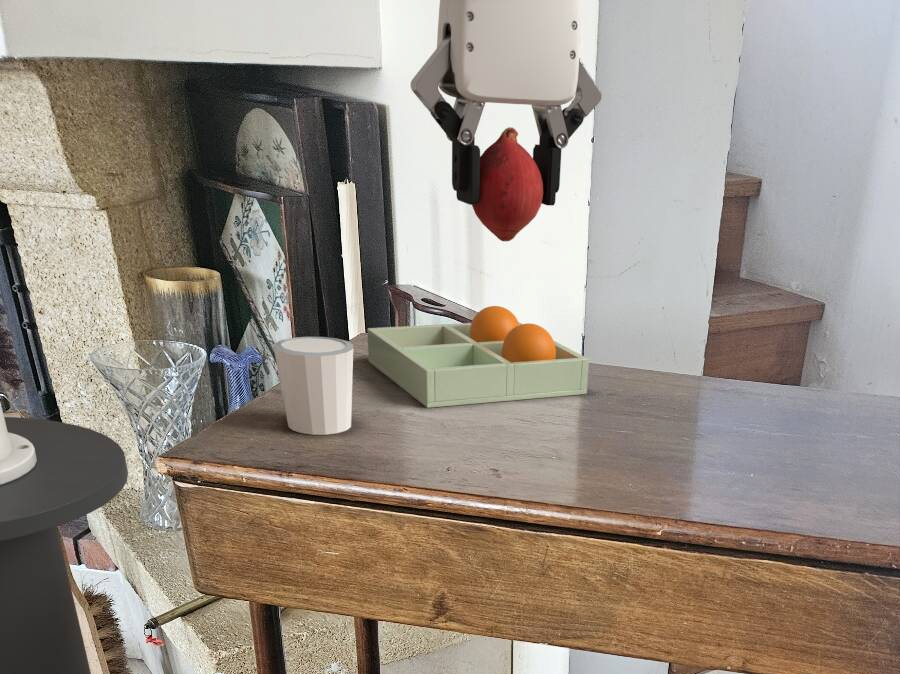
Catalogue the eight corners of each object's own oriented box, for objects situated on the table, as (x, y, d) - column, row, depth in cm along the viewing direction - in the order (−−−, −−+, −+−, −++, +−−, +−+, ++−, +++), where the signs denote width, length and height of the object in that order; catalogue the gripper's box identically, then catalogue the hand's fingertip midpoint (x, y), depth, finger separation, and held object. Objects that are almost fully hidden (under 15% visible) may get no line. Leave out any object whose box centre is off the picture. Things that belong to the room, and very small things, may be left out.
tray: (427, 408, 100) (426, 370, 98) (368, 362, 112) (367, 328, 110) (586, 394, 107) (589, 359, 105) (514, 352, 120) (515, 320, 118)
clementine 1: (481, 368, 111) (482, 313, 108) (461, 355, 115) (461, 301, 112) (528, 365, 113) (530, 310, 110) (507, 352, 117) (508, 299, 114)
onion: (508, 250, 81) (511, 131, 76) (453, 239, 83) (454, 123, 79) (554, 244, 85) (560, 130, 80) (501, 233, 87) (503, 123, 83)
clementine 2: (515, 389, 105) (516, 331, 102) (492, 375, 109) (493, 319, 106) (563, 385, 107) (566, 328, 104) (539, 371, 111) (542, 316, 108)
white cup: (272, 434, 91) (263, 351, 87) (291, 411, 96) (284, 332, 92) (350, 439, 91) (345, 356, 87) (365, 416, 96) (360, 337, 93)
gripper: (597, -69, 79) (580, 197, 89) (379, -98, 72) (387, 195, 82) (646, -74, 73) (622, 210, 83) (415, -106, 66) (419, 209, 76)
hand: (505, 200), depth 82 cm, fingers closed on onion, 5 cm apart
